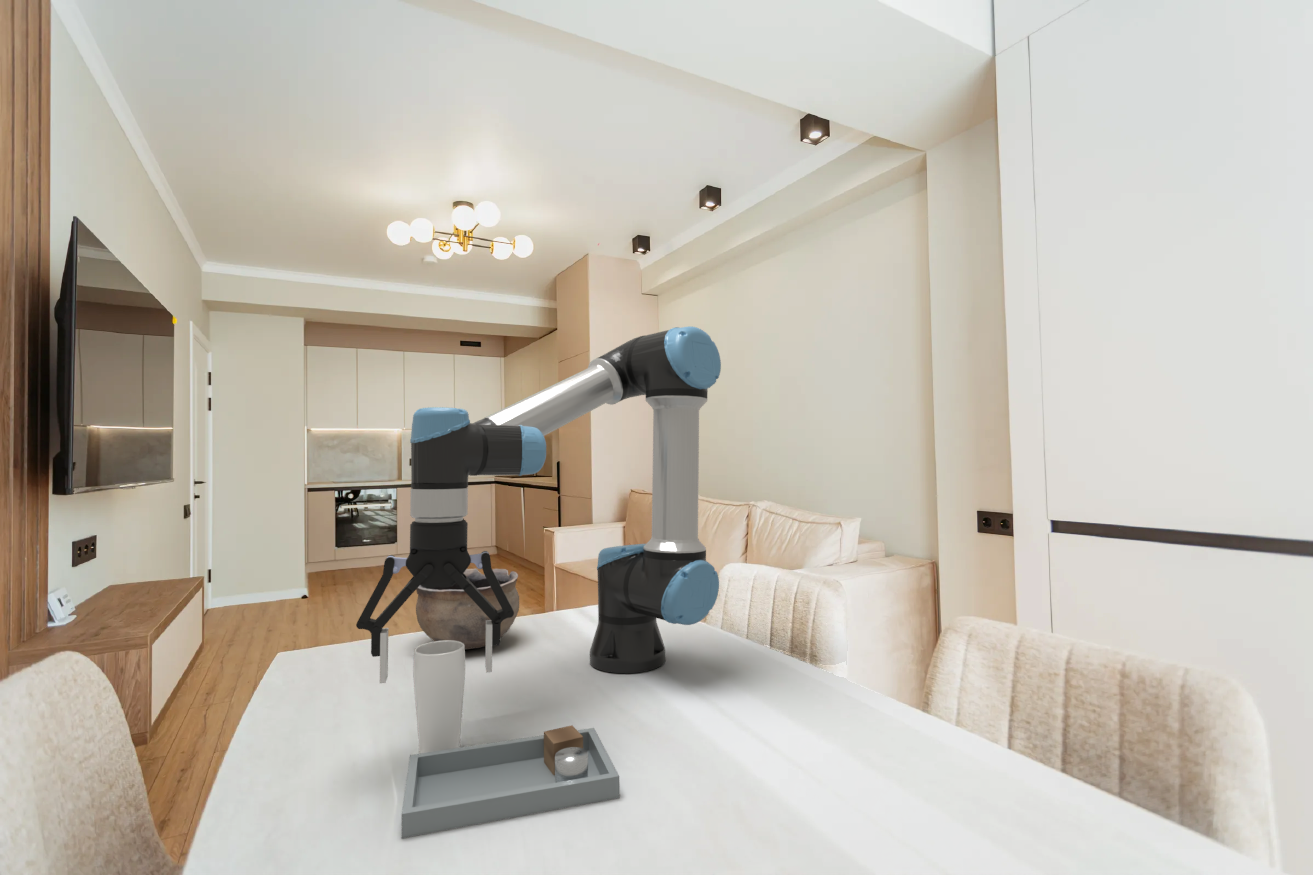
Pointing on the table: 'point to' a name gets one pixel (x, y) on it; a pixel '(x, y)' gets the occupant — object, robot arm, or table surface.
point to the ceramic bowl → (464, 609)
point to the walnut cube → (559, 743)
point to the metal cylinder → (571, 764)
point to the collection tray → (498, 784)
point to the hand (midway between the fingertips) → (437, 674)
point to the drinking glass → (439, 694)
